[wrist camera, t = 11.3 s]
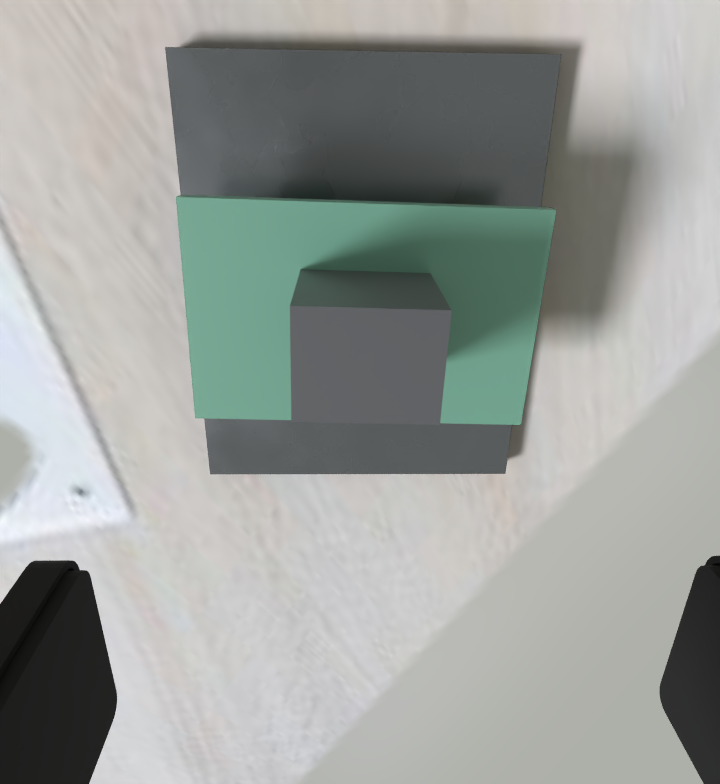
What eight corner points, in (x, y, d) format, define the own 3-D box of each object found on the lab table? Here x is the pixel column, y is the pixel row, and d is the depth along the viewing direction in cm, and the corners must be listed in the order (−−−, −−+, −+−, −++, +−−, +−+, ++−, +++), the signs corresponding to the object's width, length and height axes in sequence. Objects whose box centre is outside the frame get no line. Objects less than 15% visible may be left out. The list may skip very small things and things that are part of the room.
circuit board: (199, 410, 26) (162, 482, 21) (181, 194, 22) (131, 216, 17) (515, 416, 27) (558, 489, 21) (549, 207, 23) (611, 232, 18)
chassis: (173, 50, 25) (133, 33, 20) (551, 57, 25) (599, 42, 21) (214, 462, 33) (193, 519, 28) (499, 462, 34) (525, 517, 29)
